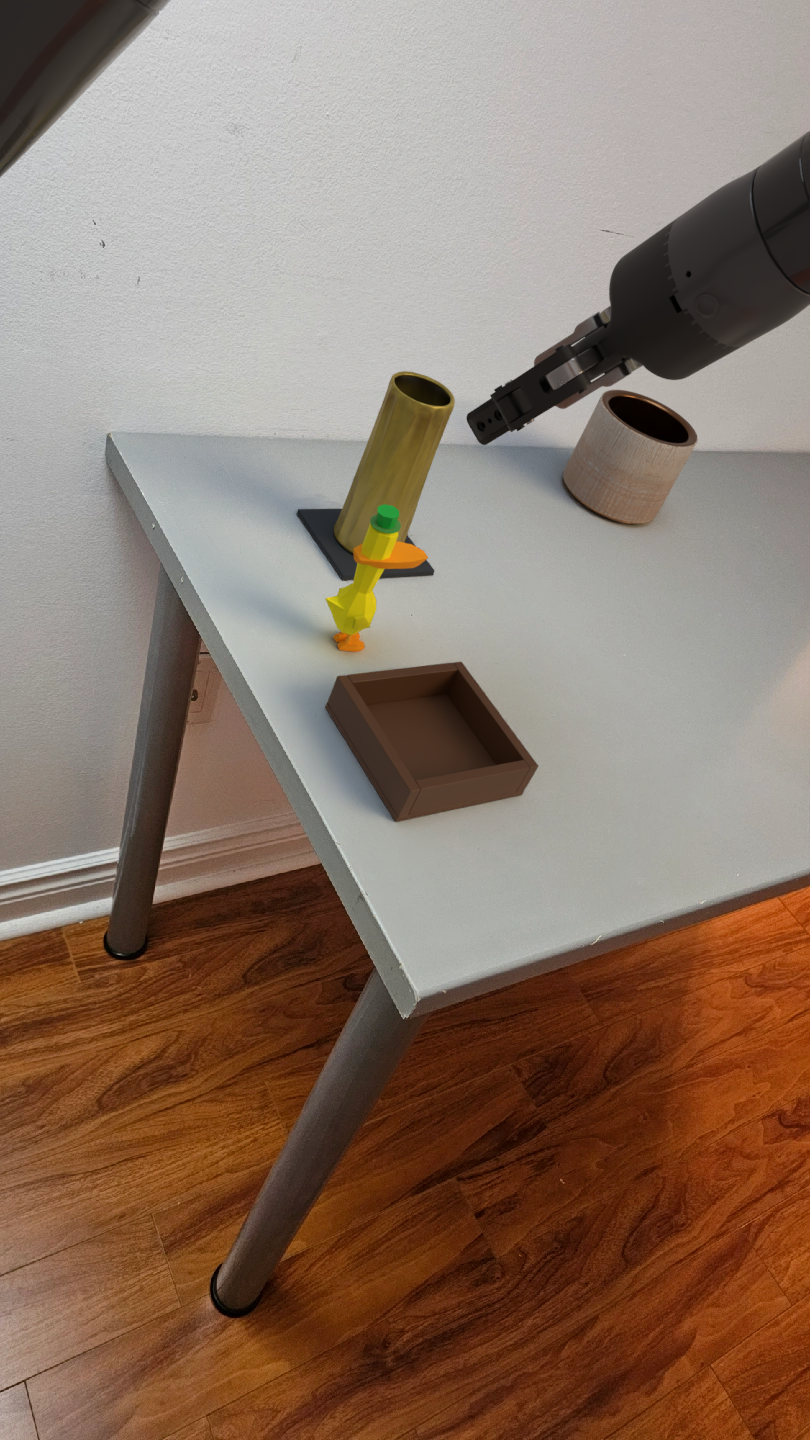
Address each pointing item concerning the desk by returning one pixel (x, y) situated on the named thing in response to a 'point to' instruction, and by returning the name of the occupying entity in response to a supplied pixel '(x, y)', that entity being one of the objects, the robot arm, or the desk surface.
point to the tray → (429, 739)
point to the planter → (629, 457)
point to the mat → (338, 556)
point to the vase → (396, 455)
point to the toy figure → (370, 576)
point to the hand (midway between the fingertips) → (513, 406)
